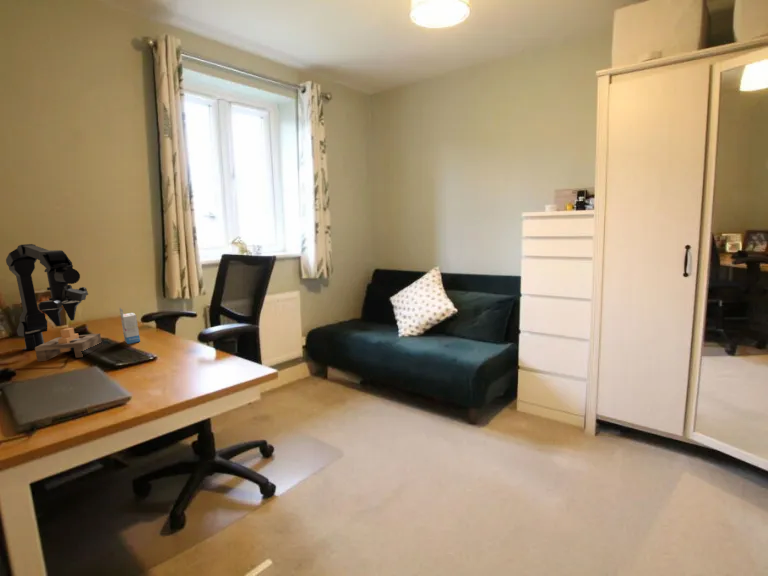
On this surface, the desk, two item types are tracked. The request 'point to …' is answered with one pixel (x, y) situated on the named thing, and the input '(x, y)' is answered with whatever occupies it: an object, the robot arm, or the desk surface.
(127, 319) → the ink box
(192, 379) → the desk surface
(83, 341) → the hook shelf
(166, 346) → the desk surface
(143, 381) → the desk surface
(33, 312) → the robot arm
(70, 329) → the pale wooden stand block
